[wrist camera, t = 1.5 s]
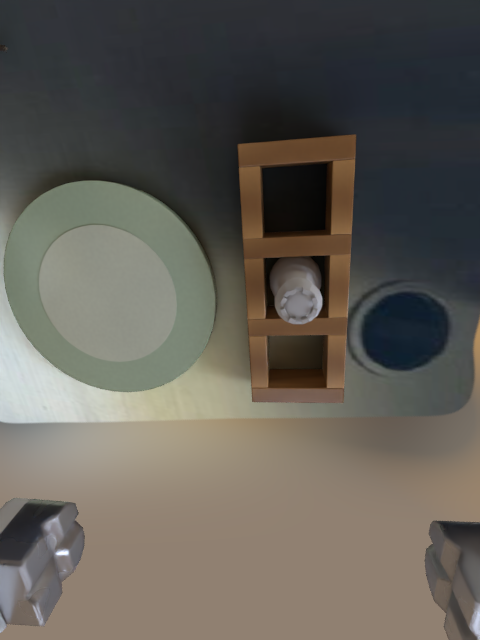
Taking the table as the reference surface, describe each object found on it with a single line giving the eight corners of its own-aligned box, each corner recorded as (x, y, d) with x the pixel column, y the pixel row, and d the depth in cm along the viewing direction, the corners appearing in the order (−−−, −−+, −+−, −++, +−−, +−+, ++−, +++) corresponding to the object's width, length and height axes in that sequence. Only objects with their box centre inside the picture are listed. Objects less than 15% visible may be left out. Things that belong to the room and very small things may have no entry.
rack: (242, 148, 28) (237, 143, 24) (347, 140, 27) (356, 134, 23) (255, 382, 35) (252, 402, 32) (337, 382, 34) (343, 403, 31)
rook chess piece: (288, 242, 30) (290, 260, 22) (331, 270, 30) (347, 298, 23) (259, 284, 31) (252, 315, 24) (301, 311, 32) (306, 349, 24)
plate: (-16, 188, 31) (-28, 188, 30) (206, 172, 28) (203, 171, 27) (43, 385, 38) (35, 392, 37) (225, 386, 35) (223, 393, 34)
